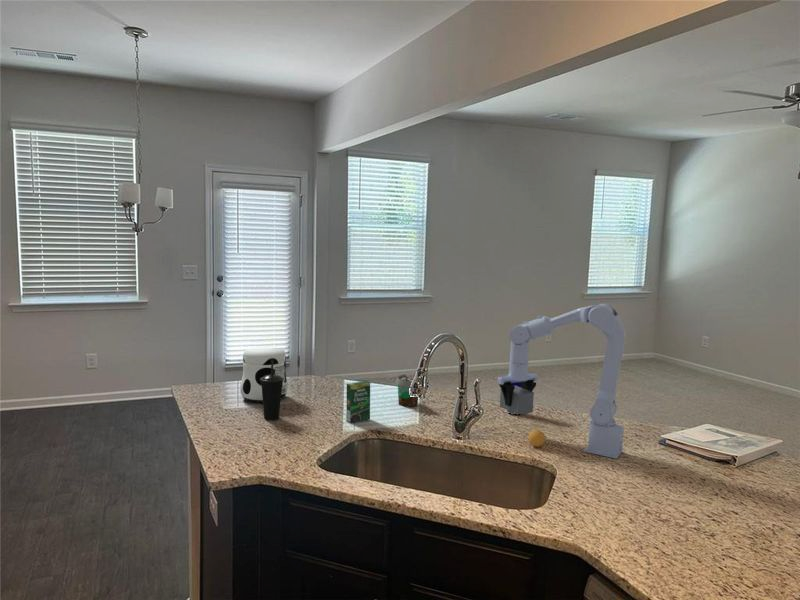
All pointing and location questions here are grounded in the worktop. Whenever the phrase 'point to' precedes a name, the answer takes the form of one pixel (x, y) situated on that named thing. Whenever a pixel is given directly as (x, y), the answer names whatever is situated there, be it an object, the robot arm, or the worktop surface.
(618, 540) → the worktop surface
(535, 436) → the ball
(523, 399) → the grey rectangular brick
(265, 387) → the drinking cup
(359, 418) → the coffee box
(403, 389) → the food container
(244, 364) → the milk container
